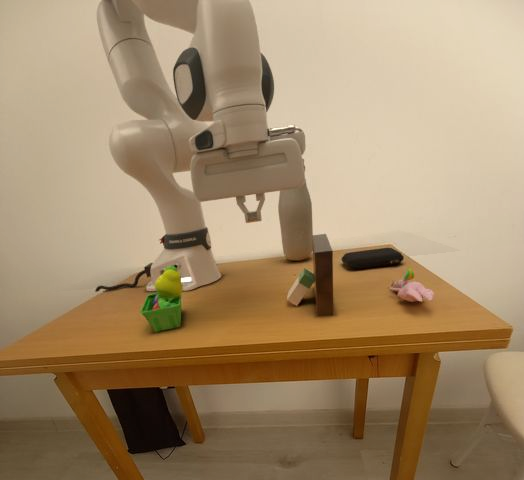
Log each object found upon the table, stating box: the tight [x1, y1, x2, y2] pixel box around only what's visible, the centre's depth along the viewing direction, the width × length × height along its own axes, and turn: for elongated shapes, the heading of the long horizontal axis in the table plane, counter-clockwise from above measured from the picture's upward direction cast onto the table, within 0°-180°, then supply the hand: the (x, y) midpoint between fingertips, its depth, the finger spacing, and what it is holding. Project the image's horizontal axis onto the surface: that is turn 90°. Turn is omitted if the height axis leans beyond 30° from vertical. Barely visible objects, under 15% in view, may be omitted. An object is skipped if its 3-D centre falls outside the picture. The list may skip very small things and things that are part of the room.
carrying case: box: [340, 247, 405, 271], centre depth 79 cm, size 11×3×15 cm
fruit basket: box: [140, 266, 183, 333], centre depth 61 cm, size 11×9×11 cm
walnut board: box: [312, 233, 334, 317], centre depth 60 cm, size 3×16×12 cm, turn 174°
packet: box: [286, 267, 315, 307], centre depth 62 cm, size 6×5×7 cm
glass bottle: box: [277, 158, 314, 262], centre depth 87 cm, size 10×10×28 cm
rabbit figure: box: [389, 268, 435, 303], centre depth 56 cm, size 6×6×15 cm
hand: (253, 221), depth 56 cm, fingers closed
